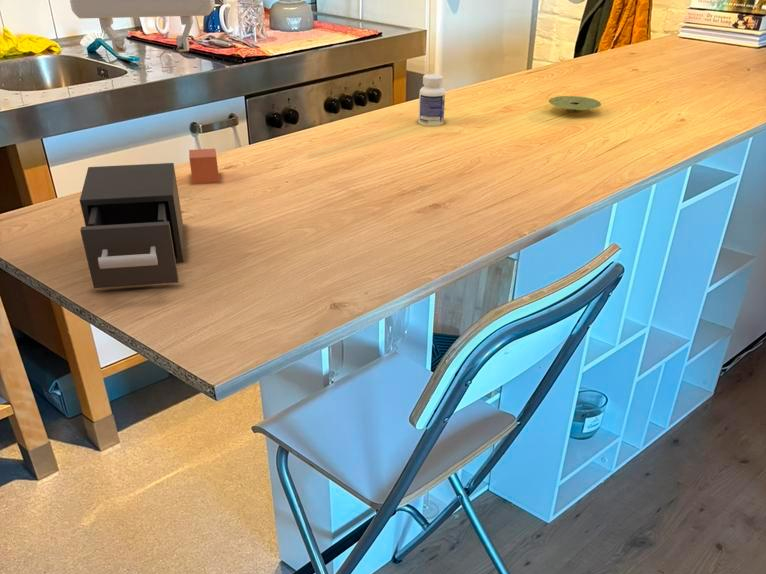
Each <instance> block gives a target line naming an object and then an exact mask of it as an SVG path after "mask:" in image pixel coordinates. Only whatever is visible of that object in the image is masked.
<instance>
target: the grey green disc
mask: <svg viewBox="0 0 766 574" xmlns="http://www.w3.org/2000/svg"><path fill="white" fill-rule="evenodd" d="M548 103H549V104H550V105H552V106H554V107H557V108H560V109H566V110H567V109H568V111H569V113H574V112H576V111H582V110H583V111H585V110H587V111H588V110H594V109H597V108H598V109H599V107H601V106H602V103H601V102H600V101H599V100H597V99H594V98H591V97H586V96H579V95H578V96H576V95H561V96H560V95H558V96H554V97H551V98H550V99H548Z"/></svg>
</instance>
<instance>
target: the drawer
mask: <svg viewBox="0 0 766 574" xmlns="http://www.w3.org/2000/svg"><path fill="white" fill-rule="evenodd" d="M79 230H80V235H81V240H82V244H83V249H84V252H85V256H86V261H87V265H88V268H89V273H90V276H91V281H92V286H93V289H105V288H120V287H132V286H133V287H134V286H145V285H146V286H147V285H160V284H161V285H162V284H174V283H175V284H176V283H179V273H178V267H177V263H176V261H175V254H174V248H173V239H172V233H171V227H170V221H169V215H168V208H167V202H166V201H160V202H142V203H124V204H106V205H92V209H91V214H90V218H89V223H88V226H85V225H84V226H81V227H80V229H79Z"/></svg>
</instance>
